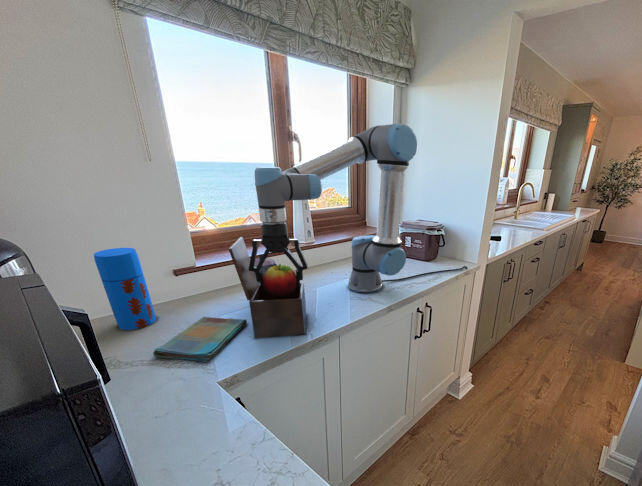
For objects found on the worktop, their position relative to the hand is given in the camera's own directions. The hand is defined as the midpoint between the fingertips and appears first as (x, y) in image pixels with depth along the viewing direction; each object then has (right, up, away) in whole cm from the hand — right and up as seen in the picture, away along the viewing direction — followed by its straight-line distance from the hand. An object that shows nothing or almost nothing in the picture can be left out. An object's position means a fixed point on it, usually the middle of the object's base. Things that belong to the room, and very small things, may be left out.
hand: (281, 290), depth 106 cm
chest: (-1, -12, +5) cm, 13 cm away
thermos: (-51, -11, +5) cm, 53 cm away
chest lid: (-9, +7, -5) cm, 13 cm away
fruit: (0, -1, +1) cm, 2 cm away
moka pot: (-14, -5, +22) cm, 26 cm away
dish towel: (-23, -16, -4) cm, 28 cm away
